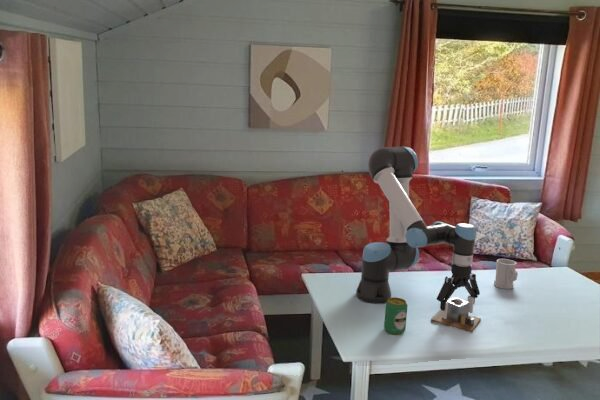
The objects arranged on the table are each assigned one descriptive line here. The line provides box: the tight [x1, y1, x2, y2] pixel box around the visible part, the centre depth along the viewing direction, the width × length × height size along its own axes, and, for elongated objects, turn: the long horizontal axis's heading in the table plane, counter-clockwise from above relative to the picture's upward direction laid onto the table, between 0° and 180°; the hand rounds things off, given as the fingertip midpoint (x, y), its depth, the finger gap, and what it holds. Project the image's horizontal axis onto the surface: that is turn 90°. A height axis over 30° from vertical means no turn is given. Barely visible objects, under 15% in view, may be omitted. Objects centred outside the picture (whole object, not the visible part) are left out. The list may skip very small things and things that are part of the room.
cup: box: [493, 258, 519, 290], centre depth 257 cm, size 10×9×12 cm
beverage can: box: [383, 297, 408, 336], centre depth 206 cm, size 8×8×12 cm
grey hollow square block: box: [447, 296, 474, 326], centre depth 216 cm, size 11×7×7 cm, turn 39°
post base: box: [430, 298, 482, 333], centre depth 217 cm, size 16×13×9 cm
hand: (456, 314), depth 217 cm, fingers open, 13 cm apart
